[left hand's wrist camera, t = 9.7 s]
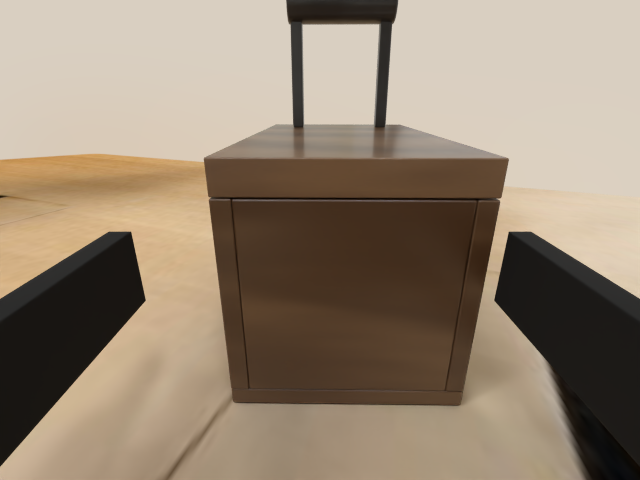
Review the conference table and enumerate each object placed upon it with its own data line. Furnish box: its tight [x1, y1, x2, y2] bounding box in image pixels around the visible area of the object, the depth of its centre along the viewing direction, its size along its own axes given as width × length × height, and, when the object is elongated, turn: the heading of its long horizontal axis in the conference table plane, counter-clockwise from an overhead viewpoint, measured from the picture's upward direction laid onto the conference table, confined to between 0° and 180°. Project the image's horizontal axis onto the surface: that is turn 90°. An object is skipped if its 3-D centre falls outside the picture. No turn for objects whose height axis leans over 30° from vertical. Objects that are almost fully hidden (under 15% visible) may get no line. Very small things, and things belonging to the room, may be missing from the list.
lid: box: [204, 0, 509, 198], centre depth 18 cm, size 17×10×10 cm, turn 179°
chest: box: [209, 197, 500, 405], centre depth 21 cm, size 17×10×9 cm, turn 179°
